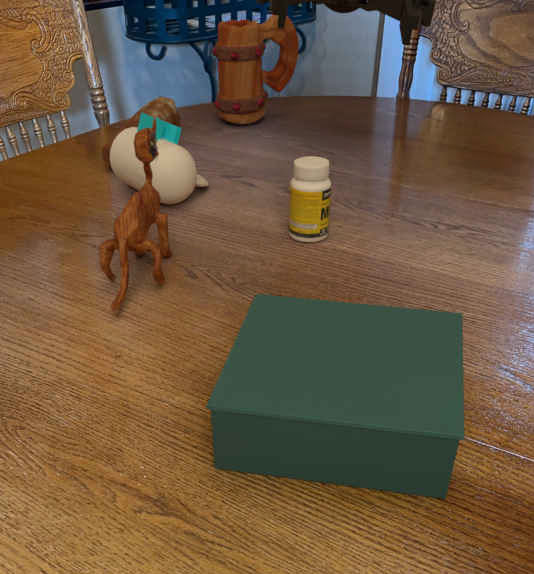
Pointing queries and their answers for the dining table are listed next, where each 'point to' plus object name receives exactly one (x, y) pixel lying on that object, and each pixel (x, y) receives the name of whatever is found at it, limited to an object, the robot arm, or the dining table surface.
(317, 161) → the supplement bottle
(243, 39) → the mug
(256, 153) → the dining table surface
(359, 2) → the robot arm
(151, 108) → the bread
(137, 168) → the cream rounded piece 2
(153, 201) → the brown animal figurine
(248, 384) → the box
